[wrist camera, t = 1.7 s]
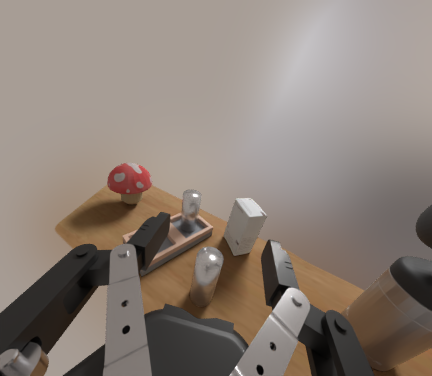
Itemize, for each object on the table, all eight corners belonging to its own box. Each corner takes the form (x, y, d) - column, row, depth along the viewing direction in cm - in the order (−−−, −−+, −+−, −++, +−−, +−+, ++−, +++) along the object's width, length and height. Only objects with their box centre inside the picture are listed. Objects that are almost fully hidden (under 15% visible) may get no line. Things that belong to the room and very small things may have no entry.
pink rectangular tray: (190, 216, 58) (191, 208, 56) (211, 235, 52) (213, 227, 50) (123, 245, 43) (122, 235, 41) (141, 276, 37) (141, 266, 35)
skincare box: (222, 236, 52) (233, 197, 45) (239, 233, 55) (251, 196, 48) (234, 257, 46) (248, 216, 39) (252, 253, 48) (268, 214, 41)
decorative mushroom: (159, 204, 61) (160, 167, 54) (124, 220, 51) (119, 177, 44) (138, 190, 67) (137, 155, 60) (103, 201, 57) (96, 161, 50)
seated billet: (189, 219, 53) (194, 188, 48) (199, 228, 50) (205, 196, 45) (176, 225, 50) (179, 192, 44) (186, 235, 47) (190, 201, 42)
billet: (202, 278, 39) (210, 242, 33) (217, 295, 36) (228, 259, 30) (185, 292, 35) (191, 255, 30) (200, 312, 32) (209, 275, 27)
